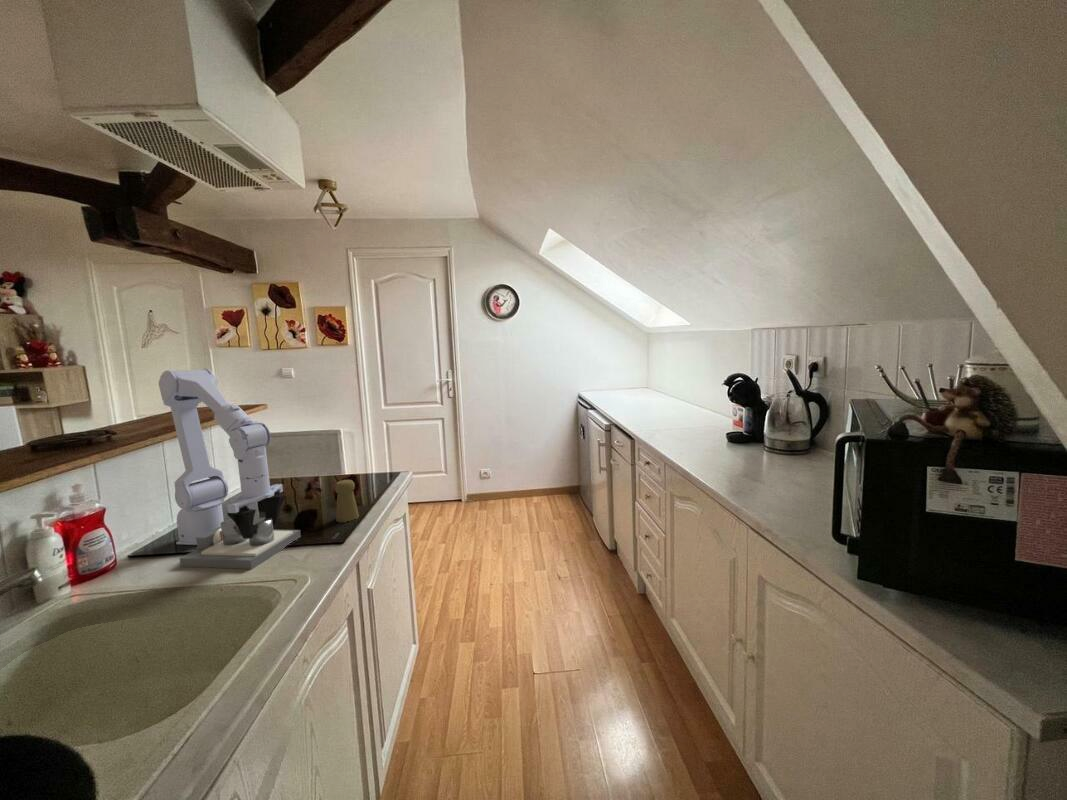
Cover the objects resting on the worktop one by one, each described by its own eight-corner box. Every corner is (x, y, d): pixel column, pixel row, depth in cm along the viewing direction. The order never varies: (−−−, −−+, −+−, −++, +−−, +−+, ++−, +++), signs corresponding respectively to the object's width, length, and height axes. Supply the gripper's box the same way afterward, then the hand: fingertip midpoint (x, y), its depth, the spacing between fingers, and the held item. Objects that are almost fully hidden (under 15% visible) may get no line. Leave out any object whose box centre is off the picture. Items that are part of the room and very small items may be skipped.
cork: (363, 514, 124) (359, 477, 123) (352, 522, 118) (348, 484, 117) (343, 514, 125) (339, 477, 123) (331, 522, 119) (327, 484, 117)
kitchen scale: (180, 566, 96) (177, 543, 95) (238, 535, 112) (236, 515, 111) (251, 569, 93) (248, 545, 93) (301, 537, 109) (298, 516, 109)
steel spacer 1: (217, 544, 101) (215, 524, 100) (236, 535, 105) (233, 516, 105) (235, 545, 100) (233, 525, 99) (253, 536, 104) (250, 517, 104)
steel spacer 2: (244, 546, 99) (242, 526, 98) (258, 537, 104) (255, 517, 103) (266, 545, 99) (264, 524, 99) (278, 536, 104) (276, 516, 103)
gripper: (244, 485, 92) (251, 545, 94) (291, 467, 106) (296, 519, 108) (216, 485, 93) (223, 544, 95) (266, 467, 107) (271, 518, 109)
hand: (260, 530), depth 101 cm, fingers open, 7 cm apart
